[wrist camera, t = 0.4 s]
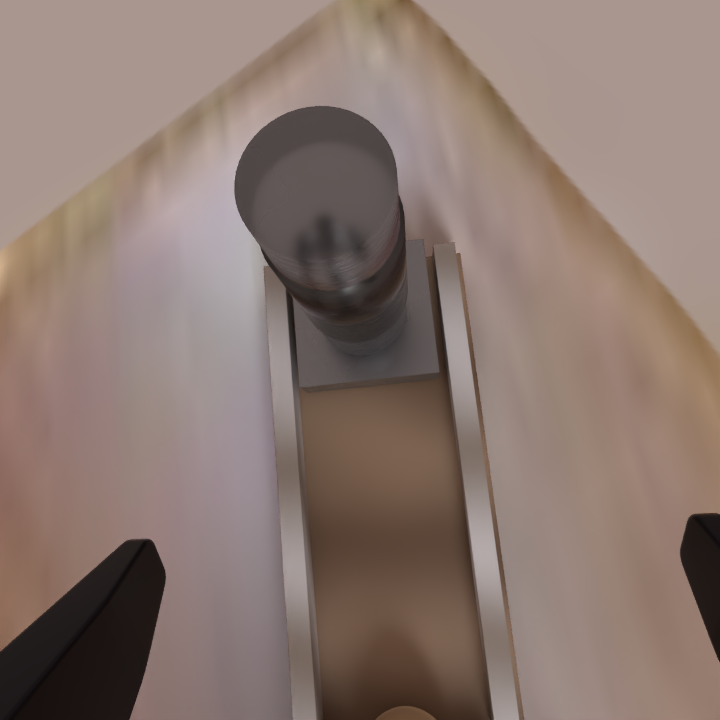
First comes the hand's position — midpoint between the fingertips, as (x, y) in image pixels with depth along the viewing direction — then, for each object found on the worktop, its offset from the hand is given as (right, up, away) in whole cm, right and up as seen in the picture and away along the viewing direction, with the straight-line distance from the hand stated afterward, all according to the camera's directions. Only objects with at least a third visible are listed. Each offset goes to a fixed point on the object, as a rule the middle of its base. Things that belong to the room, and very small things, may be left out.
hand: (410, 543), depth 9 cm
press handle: (-1, +5, +12) cm, 13 cm away
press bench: (0, -5, +12) cm, 13 cm away
